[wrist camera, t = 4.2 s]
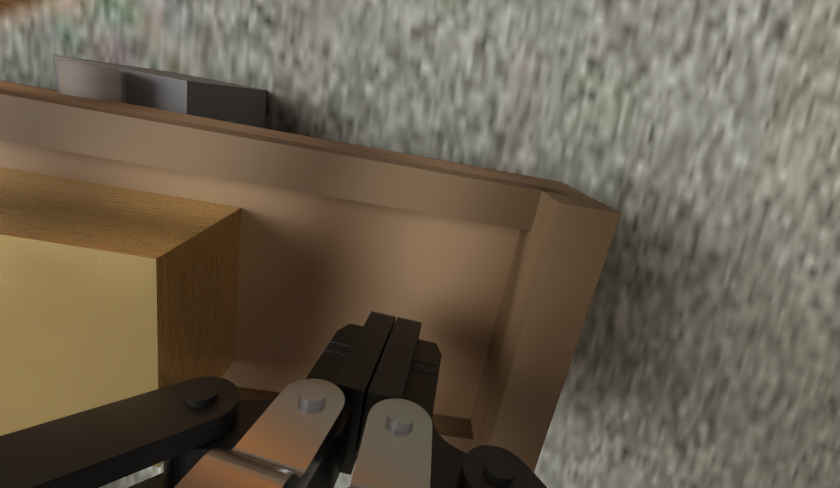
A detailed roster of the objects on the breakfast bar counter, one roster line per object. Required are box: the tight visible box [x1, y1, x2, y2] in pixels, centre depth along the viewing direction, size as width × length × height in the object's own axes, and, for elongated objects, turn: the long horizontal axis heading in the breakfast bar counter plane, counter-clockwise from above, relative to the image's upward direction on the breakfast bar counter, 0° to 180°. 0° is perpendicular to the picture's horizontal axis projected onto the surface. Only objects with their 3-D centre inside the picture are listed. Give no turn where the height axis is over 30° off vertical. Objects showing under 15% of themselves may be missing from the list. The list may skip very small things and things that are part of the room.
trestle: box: [54, 55, 267, 128], centre depth 19 cm, size 29×12×7 cm, turn 80°
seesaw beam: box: [0, 58, 621, 473], centre depth 14 cm, size 32×12×6 cm, turn 80°
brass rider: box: [0, 167, 241, 467], centre depth 11 cm, size 7×6×4 cm
